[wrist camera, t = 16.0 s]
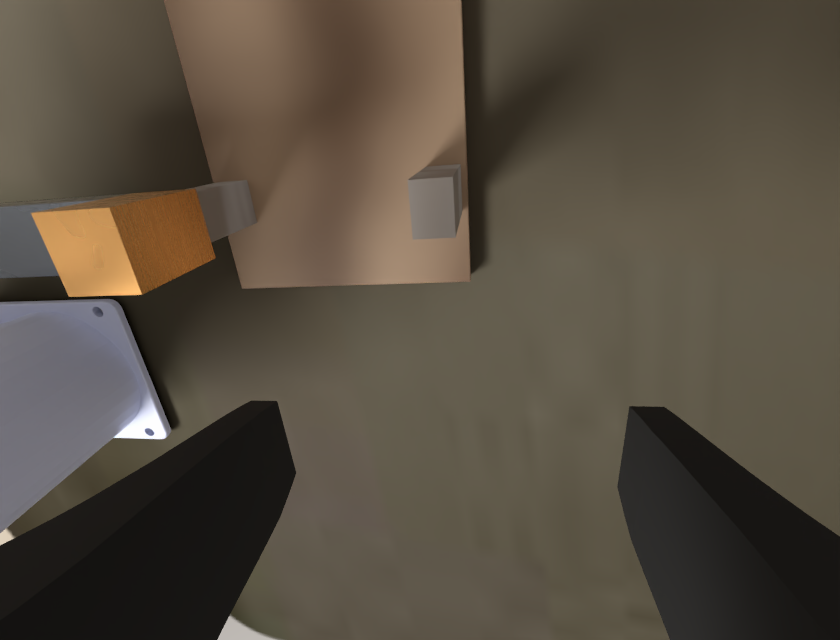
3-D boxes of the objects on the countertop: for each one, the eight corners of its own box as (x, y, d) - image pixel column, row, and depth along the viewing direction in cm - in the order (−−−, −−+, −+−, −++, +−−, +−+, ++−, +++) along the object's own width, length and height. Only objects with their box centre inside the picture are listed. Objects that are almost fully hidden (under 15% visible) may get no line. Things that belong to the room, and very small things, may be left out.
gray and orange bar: (-44, 269, 14) (-168, 304, 11) (-78, 208, 13) (-222, 230, 11) (215, 257, 13) (142, 294, 10) (195, 188, 12) (108, 208, 9)
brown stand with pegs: (251, 282, 18) (180, 330, 14) (170, -31, 14) (30, -100, 10) (471, 274, 17) (466, 325, 13) (459, -79, 12) (445, -186, 8)
